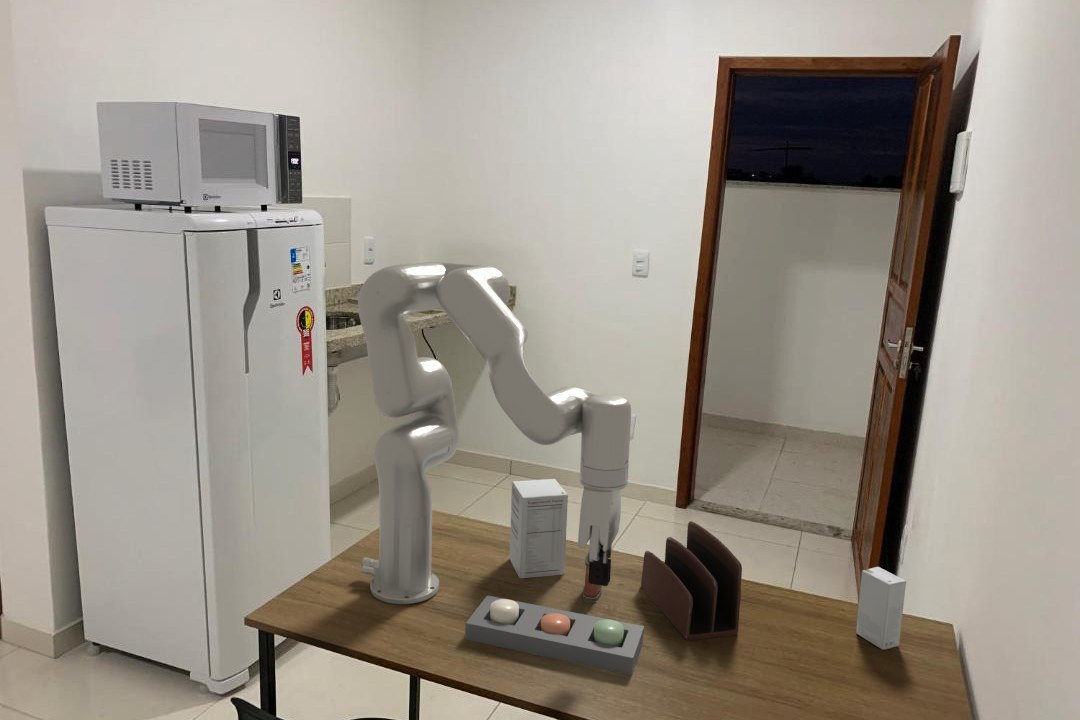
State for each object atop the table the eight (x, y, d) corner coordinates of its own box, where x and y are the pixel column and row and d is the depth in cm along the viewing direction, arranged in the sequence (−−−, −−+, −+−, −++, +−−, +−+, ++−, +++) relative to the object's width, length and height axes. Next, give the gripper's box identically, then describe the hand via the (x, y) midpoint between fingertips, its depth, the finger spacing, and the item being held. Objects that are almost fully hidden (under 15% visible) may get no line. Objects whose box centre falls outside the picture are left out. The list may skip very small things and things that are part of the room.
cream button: (485, 626, 133) (486, 610, 132) (495, 612, 137) (496, 597, 137) (512, 632, 132) (513, 615, 131) (521, 618, 136) (522, 602, 135)
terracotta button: (536, 641, 131) (537, 624, 130) (545, 627, 135) (545, 610, 134) (564, 647, 129) (565, 630, 129) (572, 632, 134) (573, 616, 133)
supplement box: (552, 554, 164) (556, 477, 161) (565, 575, 156) (570, 494, 152) (507, 558, 162) (510, 480, 159) (518, 579, 153) (522, 496, 150)
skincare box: (899, 646, 136) (909, 580, 133) (881, 651, 134) (890, 585, 131) (871, 628, 141) (880, 565, 139) (852, 633, 139) (861, 569, 137)
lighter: (598, 603, 145) (602, 552, 143) (580, 600, 146) (583, 550, 144) (604, 583, 153) (607, 535, 151) (586, 581, 154) (589, 532, 152)
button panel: (465, 639, 131) (465, 622, 131) (486, 610, 141) (487, 595, 140) (631, 675, 124) (633, 658, 123) (642, 642, 133) (644, 626, 132)
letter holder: (686, 582, 156) (692, 514, 153) (738, 635, 137) (746, 560, 134) (639, 587, 153) (645, 518, 150) (686, 642, 134) (693, 565, 131)
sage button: (590, 648, 128) (591, 631, 127) (596, 633, 132) (597, 617, 132) (619, 654, 127) (620, 637, 126) (625, 639, 131) (626, 622, 130)
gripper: (592, 457, 132) (587, 560, 136) (568, 486, 118) (564, 600, 122) (636, 463, 130) (631, 567, 134) (617, 492, 116) (612, 608, 120)
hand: (599, 582), depth 128 cm, fingers closed
